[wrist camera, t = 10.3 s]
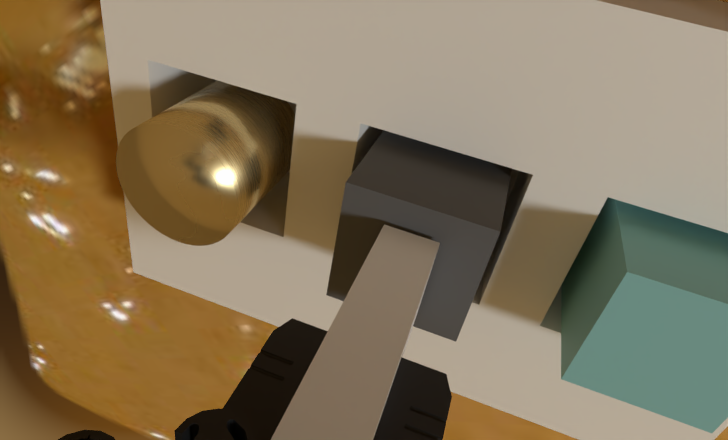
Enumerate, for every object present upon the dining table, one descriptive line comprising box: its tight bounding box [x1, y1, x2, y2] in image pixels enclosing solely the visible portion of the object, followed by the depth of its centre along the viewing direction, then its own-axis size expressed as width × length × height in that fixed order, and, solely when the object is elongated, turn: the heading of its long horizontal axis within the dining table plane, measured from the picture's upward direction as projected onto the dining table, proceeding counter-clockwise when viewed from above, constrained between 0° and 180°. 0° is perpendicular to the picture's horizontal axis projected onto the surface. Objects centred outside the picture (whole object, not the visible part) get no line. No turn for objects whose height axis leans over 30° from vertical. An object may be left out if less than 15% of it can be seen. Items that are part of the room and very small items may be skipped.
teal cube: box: [561, 197, 728, 433], centre depth 15 cm, size 4×4×4 cm
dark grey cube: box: [326, 130, 512, 342], centre depth 16 cm, size 4×4×4 cm
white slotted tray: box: [100, 0, 728, 440], centre depth 18 cm, size 14×22×5 cm, turn 80°
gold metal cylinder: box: [116, 80, 295, 246], centre depth 17 cm, size 4×4×4 cm
